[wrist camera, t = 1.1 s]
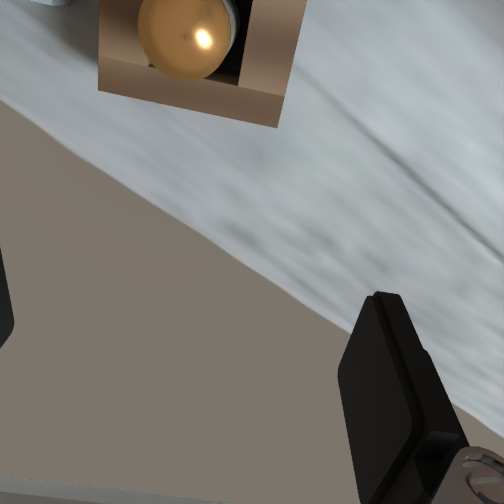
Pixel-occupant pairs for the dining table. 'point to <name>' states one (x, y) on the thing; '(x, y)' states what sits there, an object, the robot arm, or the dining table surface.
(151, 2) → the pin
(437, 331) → the dining table surface
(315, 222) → the dining table surface
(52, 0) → the tray
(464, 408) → the dining table surface
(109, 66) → the block
